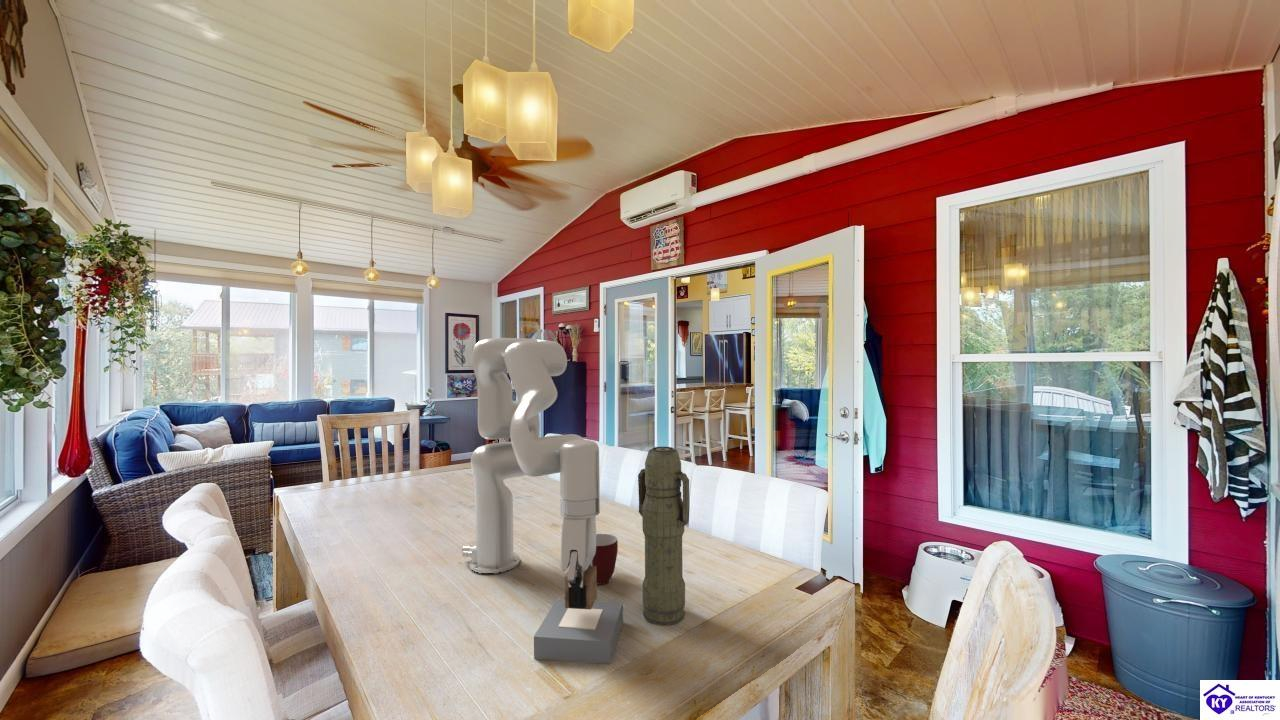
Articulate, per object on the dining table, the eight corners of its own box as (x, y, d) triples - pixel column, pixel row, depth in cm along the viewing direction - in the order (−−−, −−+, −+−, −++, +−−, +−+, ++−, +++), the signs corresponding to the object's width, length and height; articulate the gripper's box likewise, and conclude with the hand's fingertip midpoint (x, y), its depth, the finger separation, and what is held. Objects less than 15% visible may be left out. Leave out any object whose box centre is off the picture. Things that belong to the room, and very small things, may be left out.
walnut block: (565, 608, 94) (564, 576, 94) (572, 595, 99) (571, 565, 99) (591, 609, 93) (590, 577, 93) (596, 596, 98) (596, 566, 98)
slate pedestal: (534, 658, 90) (533, 635, 90) (556, 617, 104) (556, 597, 104) (610, 664, 88) (610, 640, 88) (623, 622, 102) (622, 601, 102)
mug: (597, 567, 128) (597, 528, 128) (626, 572, 126) (626, 532, 125) (578, 585, 118) (578, 543, 118) (610, 590, 116) (609, 547, 116)
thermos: (648, 598, 112) (647, 443, 111) (697, 611, 106) (696, 447, 106) (628, 617, 104) (627, 449, 104) (680, 631, 98) (679, 454, 98)
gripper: (572, 492, 105) (573, 579, 105) (547, 519, 88) (548, 622, 88) (607, 493, 104) (608, 580, 104) (589, 520, 87) (590, 624, 87)
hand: (581, 598), depth 96 cm, fingers closed on walnut block, 5 cm apart
